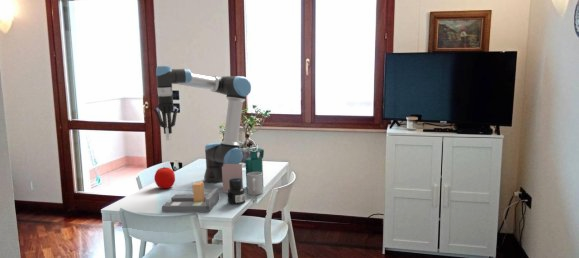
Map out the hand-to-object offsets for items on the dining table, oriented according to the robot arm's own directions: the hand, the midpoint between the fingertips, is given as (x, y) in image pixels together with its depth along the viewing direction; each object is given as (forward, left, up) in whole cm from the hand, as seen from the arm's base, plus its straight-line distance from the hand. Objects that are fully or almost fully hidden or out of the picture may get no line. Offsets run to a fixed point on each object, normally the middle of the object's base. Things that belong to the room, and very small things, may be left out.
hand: (168, 139), depth 245 cm
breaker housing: (+19, +4, -32) cm, 38 cm away
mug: (+20, +40, -33) cm, 55 cm away
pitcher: (+8, +47, -33) cm, 58 cm away
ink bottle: (+28, +25, -33) cm, 50 cm away
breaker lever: (+21, +7, -31) cm, 38 cm away
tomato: (-23, +3, -33) cm, 40 cm away
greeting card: (+7, +32, -33) cm, 46 cm away
